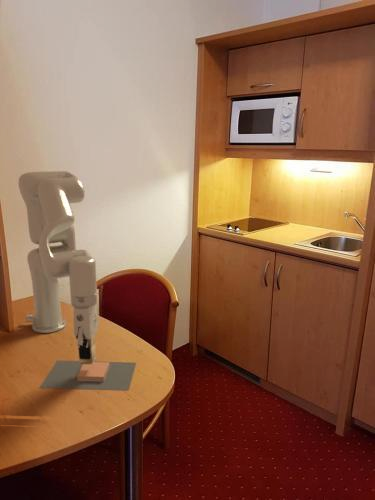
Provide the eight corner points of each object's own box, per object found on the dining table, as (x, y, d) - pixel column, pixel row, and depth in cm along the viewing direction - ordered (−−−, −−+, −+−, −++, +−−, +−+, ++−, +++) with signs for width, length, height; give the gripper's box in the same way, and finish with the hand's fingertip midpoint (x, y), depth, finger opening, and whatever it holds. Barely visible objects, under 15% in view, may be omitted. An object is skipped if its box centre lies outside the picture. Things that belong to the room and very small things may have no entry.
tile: (77, 376, 119) (103, 376, 119) (84, 361, 127) (109, 362, 126) (77, 380, 119) (103, 381, 119) (84, 366, 127) (109, 366, 127)
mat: (39, 389, 116) (39, 387, 116) (57, 362, 130) (57, 360, 130) (128, 392, 115) (128, 390, 115) (136, 364, 130) (136, 362, 130)
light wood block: (79, 364, 120) (77, 330, 117) (83, 357, 124) (81, 324, 121) (92, 364, 120) (90, 331, 117) (95, 357, 124) (94, 325, 121)
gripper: (89, 310, 108) (92, 370, 113) (103, 288, 125) (105, 341, 129) (61, 309, 109) (66, 369, 113) (79, 288, 125) (83, 340, 130)
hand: (87, 353), depth 121 cm, fingers closed on light wood block, 4 cm apart
